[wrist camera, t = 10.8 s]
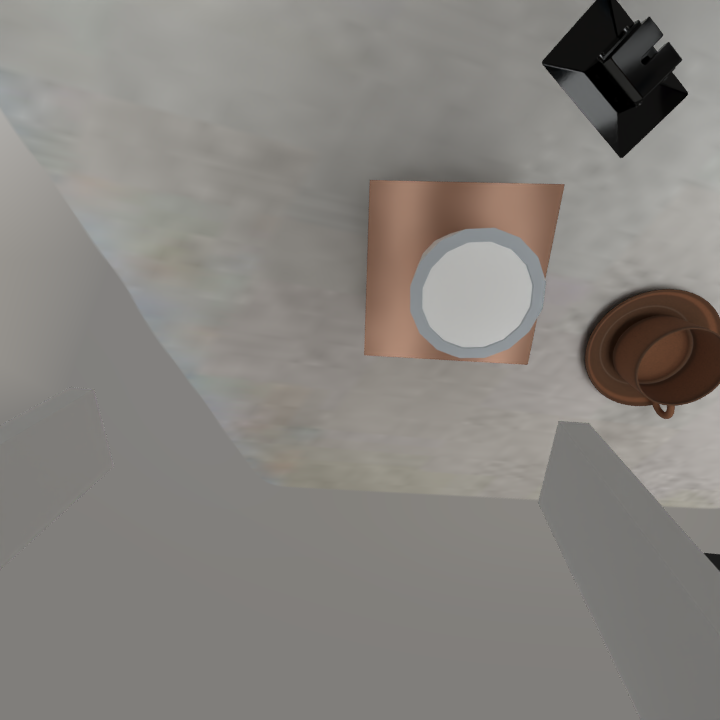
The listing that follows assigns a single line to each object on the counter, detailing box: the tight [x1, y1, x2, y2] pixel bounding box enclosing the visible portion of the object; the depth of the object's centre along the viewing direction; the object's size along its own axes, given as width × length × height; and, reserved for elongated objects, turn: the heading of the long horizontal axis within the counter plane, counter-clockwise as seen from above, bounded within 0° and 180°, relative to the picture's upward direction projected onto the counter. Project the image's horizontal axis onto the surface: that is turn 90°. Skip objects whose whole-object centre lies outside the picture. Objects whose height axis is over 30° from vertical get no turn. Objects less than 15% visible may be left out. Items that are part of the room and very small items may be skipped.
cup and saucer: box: [585, 289, 720, 419], centre depth 36 cm, size 12×12×6 cm
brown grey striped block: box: [364, 180, 565, 365], centre depth 32 cm, size 12×12×12 cm
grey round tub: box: [410, 228, 546, 358], centre depth 23 cm, size 7×7×7 cm
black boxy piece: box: [542, 0, 688, 158], centre depth 29 cm, size 13×8×5 cm, turn 48°
